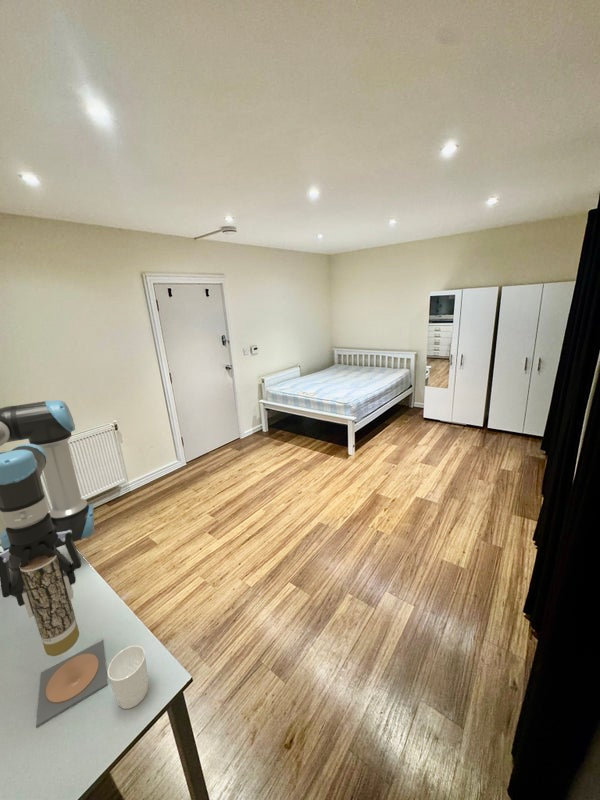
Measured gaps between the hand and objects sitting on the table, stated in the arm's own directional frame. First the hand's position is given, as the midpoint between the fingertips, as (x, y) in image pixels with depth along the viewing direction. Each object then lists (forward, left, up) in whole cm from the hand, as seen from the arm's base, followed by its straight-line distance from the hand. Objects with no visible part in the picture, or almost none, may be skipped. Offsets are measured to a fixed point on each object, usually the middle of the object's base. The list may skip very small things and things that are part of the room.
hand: (52, 603), depth 73 cm
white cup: (+13, +12, -24) cm, 30 cm away
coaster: (0, 0, -24) cm, 24 cm away
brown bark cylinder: (0, 0, -12) cm, 12 cm away
